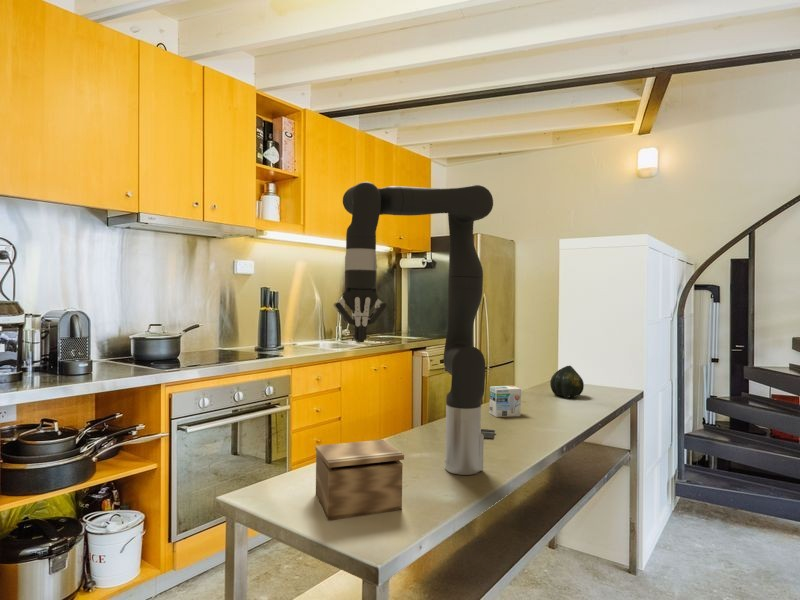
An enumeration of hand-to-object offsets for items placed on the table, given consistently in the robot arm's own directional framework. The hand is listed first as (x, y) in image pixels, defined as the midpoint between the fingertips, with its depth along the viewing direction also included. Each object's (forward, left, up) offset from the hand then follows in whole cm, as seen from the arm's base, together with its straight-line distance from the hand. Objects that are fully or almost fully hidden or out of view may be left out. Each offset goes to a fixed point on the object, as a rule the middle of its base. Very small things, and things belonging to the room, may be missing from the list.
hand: (359, 342), depth 117 cm
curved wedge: (-50, -32, -36) cm, 69 cm away
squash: (-121, -75, -35) cm, 147 cm away
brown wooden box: (+2, +7, -35) cm, 36 cm away
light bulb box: (-74, -53, -35) cm, 98 cm away
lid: (+2, +7, -24) cm, 26 cm away
